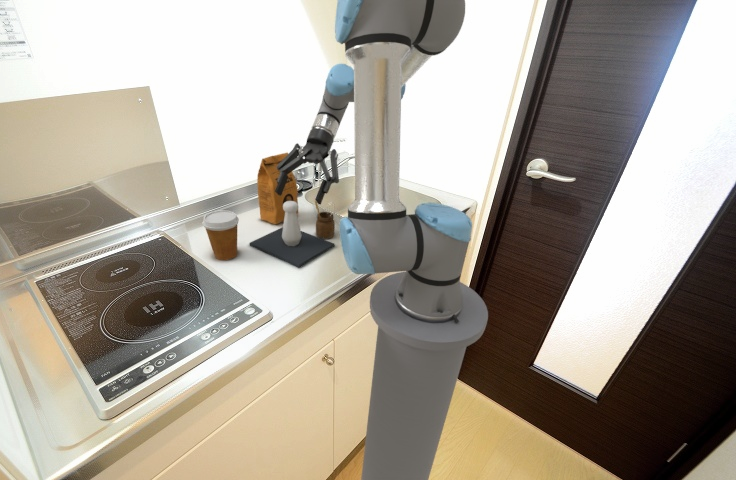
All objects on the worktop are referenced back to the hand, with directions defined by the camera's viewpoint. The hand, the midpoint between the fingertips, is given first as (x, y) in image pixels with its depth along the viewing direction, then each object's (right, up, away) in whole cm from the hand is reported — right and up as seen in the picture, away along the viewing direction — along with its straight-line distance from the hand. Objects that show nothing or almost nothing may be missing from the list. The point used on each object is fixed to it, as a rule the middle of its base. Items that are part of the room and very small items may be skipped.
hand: (297, 197), depth 106 cm
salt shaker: (-2, -13, +4) cm, 14 cm away
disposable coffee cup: (-20, -17, -1) cm, 26 cm away
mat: (-2, -14, +5) cm, 15 cm away
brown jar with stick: (+8, -10, +12) cm, 17 cm away
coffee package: (-8, -3, +22) cm, 23 cm away
